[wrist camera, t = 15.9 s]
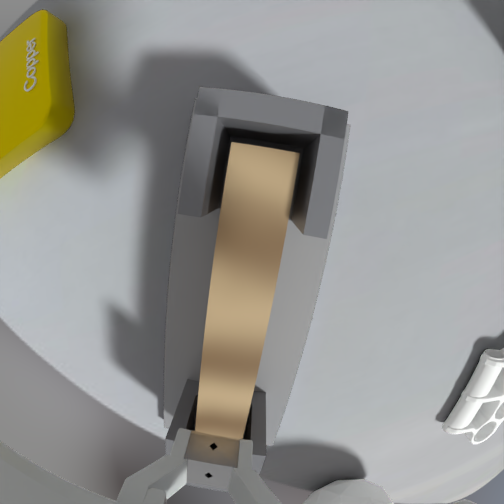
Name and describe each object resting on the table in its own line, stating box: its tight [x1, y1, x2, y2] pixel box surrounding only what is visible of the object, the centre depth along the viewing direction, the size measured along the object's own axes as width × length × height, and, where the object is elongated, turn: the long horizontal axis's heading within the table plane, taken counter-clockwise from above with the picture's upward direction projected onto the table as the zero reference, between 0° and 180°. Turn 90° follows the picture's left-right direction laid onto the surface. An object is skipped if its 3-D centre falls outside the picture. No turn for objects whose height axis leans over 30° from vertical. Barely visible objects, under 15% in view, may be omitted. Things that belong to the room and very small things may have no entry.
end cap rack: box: [164, 87, 350, 492], centre depth 21 cm, size 32×12×9 cm, turn 171°
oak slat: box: [195, 142, 300, 439], centre depth 20 cm, size 24×4×5 cm, turn 171°
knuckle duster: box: [442, 348, 504, 444], centre depth 26 cm, size 3×18×15 cm
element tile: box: [0, 10, 75, 178], centre depth 19 cm, size 15×15×5 cm
